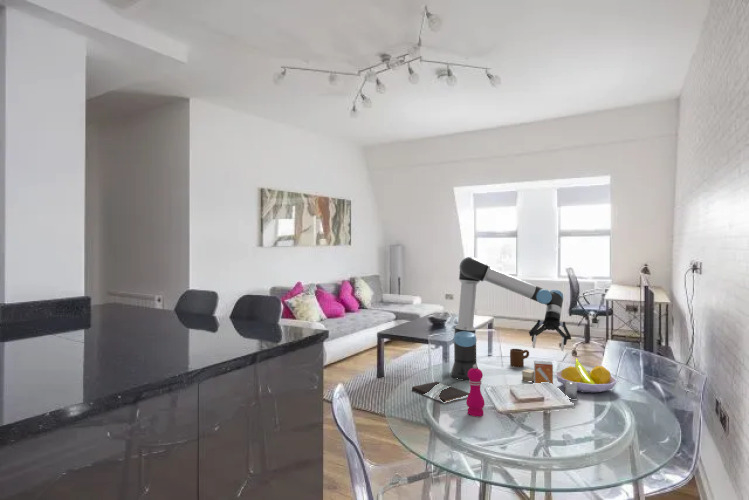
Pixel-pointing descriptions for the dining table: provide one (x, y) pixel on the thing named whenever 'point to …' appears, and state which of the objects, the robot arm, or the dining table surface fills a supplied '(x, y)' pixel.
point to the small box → (543, 372)
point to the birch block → (528, 375)
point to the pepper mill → (475, 392)
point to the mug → (518, 357)
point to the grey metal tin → (571, 389)
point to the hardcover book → (445, 394)
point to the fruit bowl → (587, 378)
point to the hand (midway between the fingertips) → (547, 348)
